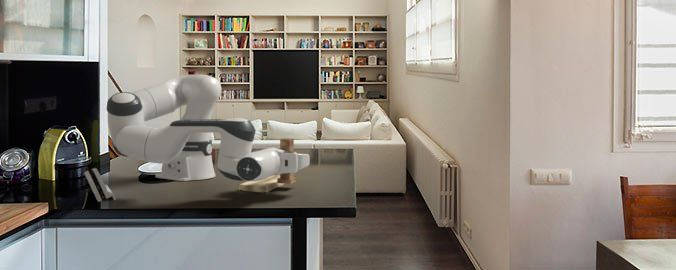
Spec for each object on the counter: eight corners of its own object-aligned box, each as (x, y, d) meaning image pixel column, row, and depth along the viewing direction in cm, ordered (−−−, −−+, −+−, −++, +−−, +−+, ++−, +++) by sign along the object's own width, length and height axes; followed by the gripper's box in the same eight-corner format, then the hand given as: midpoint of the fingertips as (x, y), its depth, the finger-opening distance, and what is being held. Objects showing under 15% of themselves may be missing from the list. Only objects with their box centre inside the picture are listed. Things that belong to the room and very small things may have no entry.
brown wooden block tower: (272, 182, 175) (272, 139, 173) (278, 180, 179) (278, 137, 178) (290, 184, 173) (290, 140, 171) (296, 181, 177) (296, 138, 176)
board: (239, 190, 172) (239, 184, 172) (267, 178, 193) (267, 173, 193) (266, 192, 169) (266, 186, 169) (291, 180, 190) (291, 175, 190)
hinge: (116, 199, 157) (102, 170, 154) (100, 206, 155) (86, 177, 152) (109, 189, 171) (97, 162, 169) (94, 195, 169) (82, 168, 167)
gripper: (241, 169, 166) (260, 163, 179) (300, 173, 160) (315, 166, 173) (241, 150, 165) (260, 145, 179) (300, 153, 159) (315, 148, 172)
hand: (287, 155), depth 176 cm, fingers closed on brown wooden block tower, 3 cm apart
